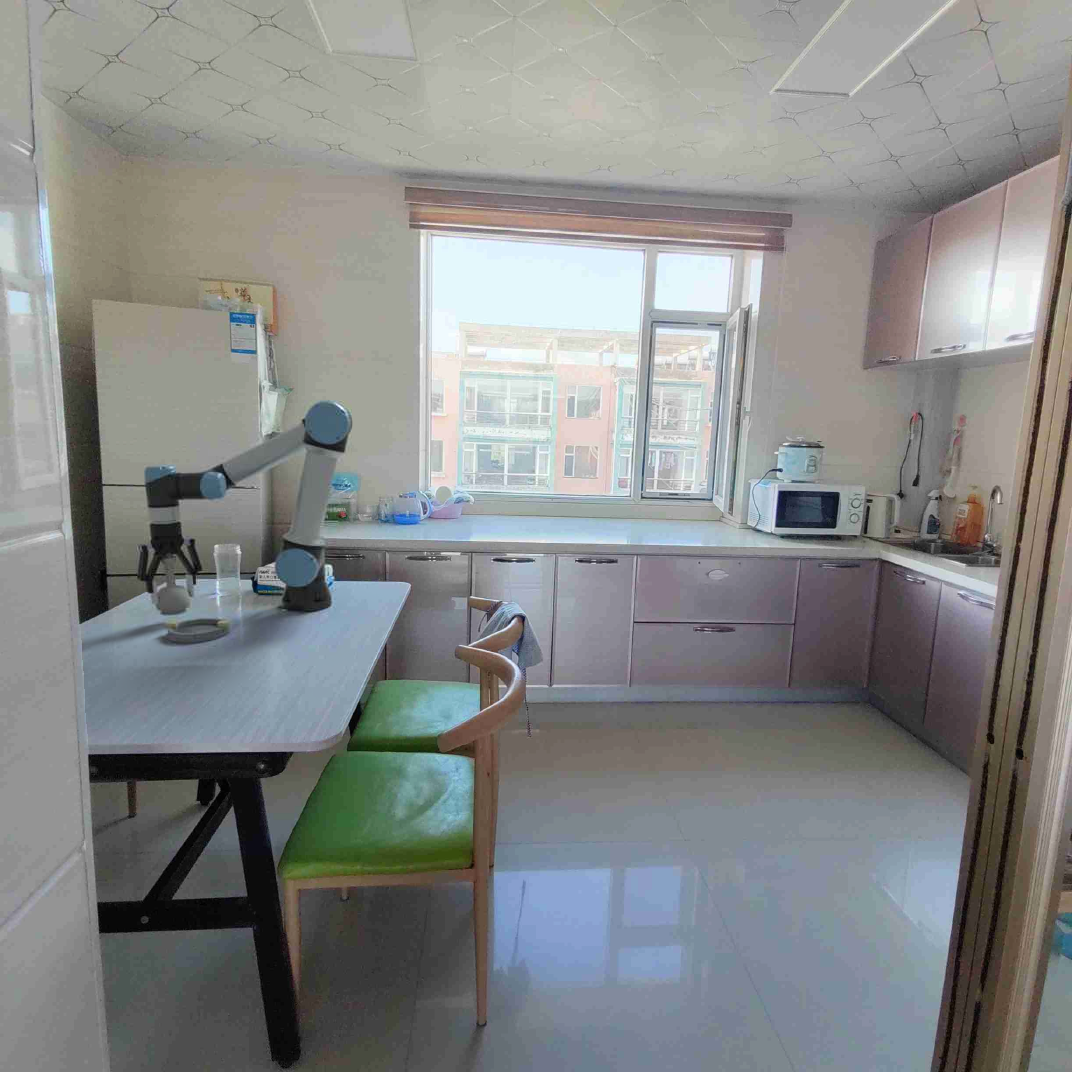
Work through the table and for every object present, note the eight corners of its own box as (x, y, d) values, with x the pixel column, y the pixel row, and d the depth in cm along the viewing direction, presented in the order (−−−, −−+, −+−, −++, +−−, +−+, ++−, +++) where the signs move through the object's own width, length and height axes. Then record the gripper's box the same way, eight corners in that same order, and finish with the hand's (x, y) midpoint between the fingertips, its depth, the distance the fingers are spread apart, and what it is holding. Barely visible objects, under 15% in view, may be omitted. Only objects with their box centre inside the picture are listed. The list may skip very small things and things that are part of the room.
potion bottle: (198, 607, 179) (192, 547, 176) (177, 617, 170) (171, 553, 167) (170, 606, 180) (163, 546, 176) (148, 616, 171) (141, 552, 168)
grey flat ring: (238, 624, 175) (237, 613, 175) (218, 642, 161) (217, 630, 160) (181, 625, 173) (180, 614, 173) (155, 643, 159) (154, 631, 158)
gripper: (199, 516, 181) (206, 590, 185) (115, 525, 164) (125, 606, 168) (211, 518, 176) (218, 594, 180) (126, 527, 160) (136, 611, 164)
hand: (173, 599), depth 174 cm, fingers closed on potion bottle, 9 cm apart
